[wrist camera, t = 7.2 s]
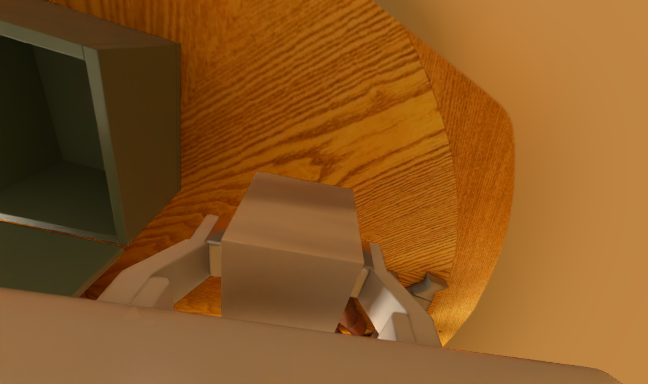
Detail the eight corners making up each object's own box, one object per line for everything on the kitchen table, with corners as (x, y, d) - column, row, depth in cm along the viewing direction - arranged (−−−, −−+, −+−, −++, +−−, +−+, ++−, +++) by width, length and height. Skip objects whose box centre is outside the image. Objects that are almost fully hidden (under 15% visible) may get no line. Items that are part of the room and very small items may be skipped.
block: (256, 170, 11) (220, 239, 7) (353, 188, 12) (364, 263, 8) (251, 242, 13) (220, 322, 10) (331, 255, 14) (332, 338, 10)
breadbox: (17, -9, 20) (-181, -36, 12) (180, 43, 22) (97, 49, 14) (63, 161, 28) (-40, 211, 20) (180, 190, 30) (127, 246, 22)
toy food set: (371, 359, 50) (374, 383, 47) (292, 342, 47) (289, 366, 44) (449, 278, 37) (461, 303, 34) (346, 248, 34) (348, 272, 31)
